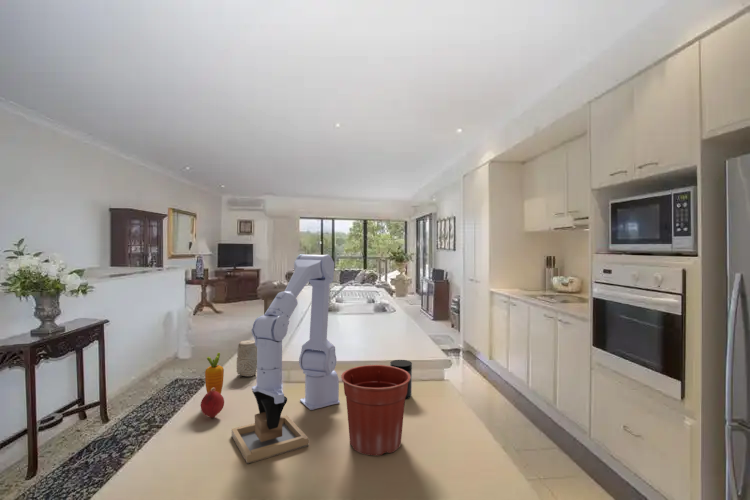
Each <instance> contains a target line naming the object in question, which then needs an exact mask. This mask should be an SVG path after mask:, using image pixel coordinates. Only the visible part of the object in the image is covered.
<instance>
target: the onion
mask: <svg viewBox="0 0 750 500" xmlns="http://www.w3.org/2000/svg"><path fill="white" fill-rule="evenodd" d="M215 390H216V388H212V389H211V390H210V392H208V393H207V392H206V394H205V395H204V396H203V398H202V399H201V401H200V411H201V412H202V414H203V415H204V416H206V417H208V418H210V419H214V418H215V417H216V416H217V415H218V414H219V413H221V412H222V411H223V409H224V406H225V398H224V397H223V395H222V393H221V394H220V393H219V392H217V391H215Z"/></svg>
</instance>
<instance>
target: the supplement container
mask: <svg viewBox="0 0 750 500" xmlns="http://www.w3.org/2000/svg"><path fill="white" fill-rule="evenodd" d="M389 364H390V365H389V366H392V367H397V368H400V369H403V370H405V371H407V372H408V373H409V374H410V376H411V378H410V381H409V382H408V388H407V395H406V397H405V401H406V400H409V399H410V398H412V394H413V393H412V391H413V390H412V387H413V384H412V383H413V382H412V380H413V378H412V377H413V376H412V373H413V372H412V371H413V362H412V361H410V360H407V359H394V360H391V361H390V363H389Z"/></svg>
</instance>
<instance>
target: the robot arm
mask: <svg viewBox="0 0 750 500" xmlns="http://www.w3.org/2000/svg"><path fill="white" fill-rule="evenodd" d="M293 269H294V272H293V273H292V275H291V277H290V279H289V281H288V283H287V285H286V288H285V289H284V291H280V292H277V294H276V295H275V297H274V299H273V300H272V302H271V303H270V304H269V307H267V310H266V311H265V313H264V314H262V315H260V316H259V317H257V318H256V319H255V320H254V322H253V324H252V328H251V334H252V337H253V340H254V341H255V345H256V347H257V370H256V371H257V372H256V383H255V384H256V385H252V386H251V391H252V394H253V395H254V398H255V400H256V403H257V404H256V405H257V407H258V413H263V412H265V413H266V419H267V426H268V429H274V428H277V427H278V424H279V420H280V416H282V412H283V410H284V408H285V405H286V404H287V402H288V397H286V396H285V393H284V391H283V385H284V384H283V381H282V380H283V340H284V339H285V338H286V336H287V334H288V329H289V324H290V318H291V316H292V315H293V314H294V312H295V310H296V308H297V306H298V300H297V298H298V296H299V294H300V293H301V292H302V290H303V289H304V288H305V286H306V284H308V283H309V284H310V285H311V288H312V289H311V290H312V291H311V305H310V306H311V307H310V308H311V309H310V323H309V340H308V341H306V342H305V343H303V344H302V346H301V351H300V354H299V359H298V365H299V368H300V369H301V370H302V374H304V375H305V376H304V380H305V381H304V385H305V386H304V389H305V390H304V395H305V396H304V397H303V398H300V399H299V401H300V402H301V403H302V404H303V405H304V406H305V407H307V408H308V409H309V410H311V411H313V410H317V409H321V408H325V407H329V406H333V405H338V404H340V402H341V401H340V400H339V395H340V392H339V391H340V389H339V388H340V385H339V382H340V381H339V380H340V379H339V375H338V373H337V371H336V370H335V369H336V366H337V356H336V346H335V345H334V344H332V343H331V342H330V340H328V326H329V325H328V322H329V306H330V305H329V304H330V303H329V302H330V285H331V284H332V283H333V282H334V276H335V262H334V260H333V258H332V256H331V255H330V254H327V253H326V254H304V253H301V254H298V255H297V257H296V259H295V260H294V261H293Z"/></svg>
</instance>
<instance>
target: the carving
mask: <svg viewBox="0 0 750 500" xmlns="http://www.w3.org/2000/svg"><path fill="white" fill-rule="evenodd" d="M236 354H237V355H236V356H237V357H236V374H237V375H238V376H241V377H253V376H256V375H257V347H256V345H255V340H254V339H253V340H252V339H247V340H242V341H239V343H238V345H237V351H236Z"/></svg>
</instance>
